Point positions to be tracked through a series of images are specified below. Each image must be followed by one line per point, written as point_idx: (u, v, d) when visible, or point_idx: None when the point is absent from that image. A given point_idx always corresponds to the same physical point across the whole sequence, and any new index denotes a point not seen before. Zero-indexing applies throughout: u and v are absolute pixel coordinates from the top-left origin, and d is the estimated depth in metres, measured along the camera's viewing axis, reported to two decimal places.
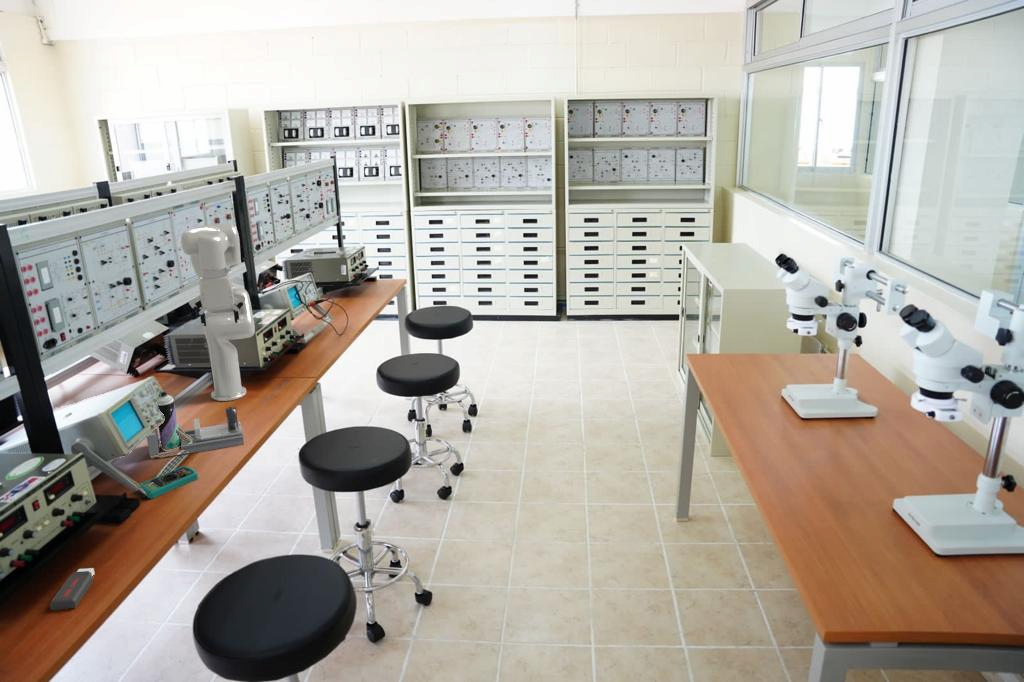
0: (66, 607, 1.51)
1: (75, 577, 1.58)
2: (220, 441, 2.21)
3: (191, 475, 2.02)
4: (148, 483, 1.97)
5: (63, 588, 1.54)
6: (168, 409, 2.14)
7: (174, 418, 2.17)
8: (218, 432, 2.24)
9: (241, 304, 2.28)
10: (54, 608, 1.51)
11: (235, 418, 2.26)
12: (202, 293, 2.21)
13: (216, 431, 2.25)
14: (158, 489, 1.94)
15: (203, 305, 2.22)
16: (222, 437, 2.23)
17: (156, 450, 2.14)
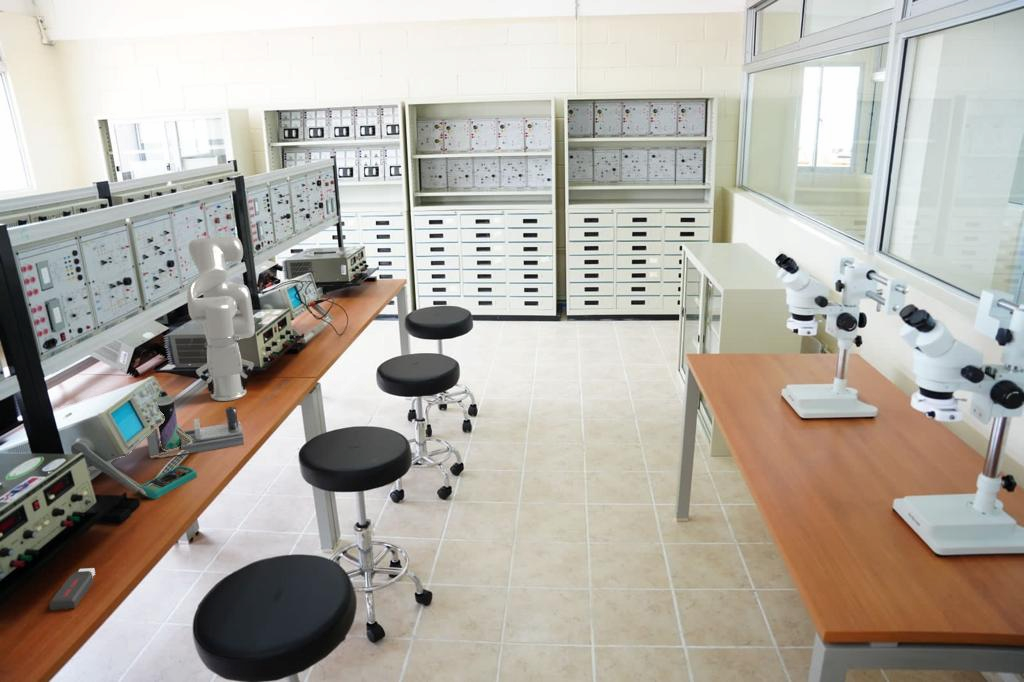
0: (65, 607, 1.51)
1: (75, 577, 1.58)
2: (220, 441, 2.21)
3: (191, 474, 2.03)
4: (148, 484, 1.97)
5: (63, 588, 1.55)
6: (168, 409, 2.14)
7: (174, 418, 2.17)
8: (218, 432, 2.24)
9: (249, 371, 2.23)
10: (54, 608, 1.51)
11: (235, 418, 2.26)
12: (210, 362, 2.15)
13: (216, 431, 2.25)
14: (161, 489, 1.94)
15: (211, 374, 2.17)
16: (222, 437, 2.23)
17: (156, 450, 2.14)
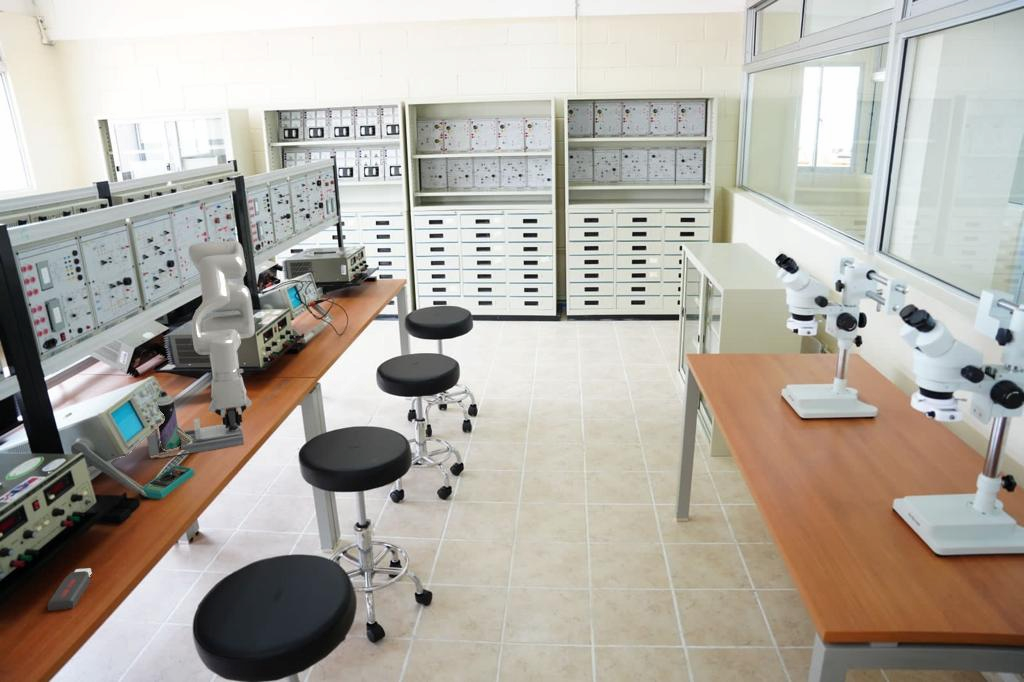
0: (64, 607, 1.51)
1: (72, 577, 1.58)
2: (220, 441, 2.21)
3: (189, 472, 2.04)
4: (148, 486, 1.96)
5: (60, 588, 1.54)
6: (168, 409, 2.14)
7: (174, 418, 2.17)
8: (218, 432, 2.24)
9: (244, 407, 2.26)
10: (52, 608, 1.51)
11: (235, 418, 2.26)
12: (214, 395, 2.19)
13: (216, 431, 2.25)
14: (165, 488, 1.95)
15: (215, 406, 2.21)
16: (222, 437, 2.23)
17: (156, 450, 2.14)
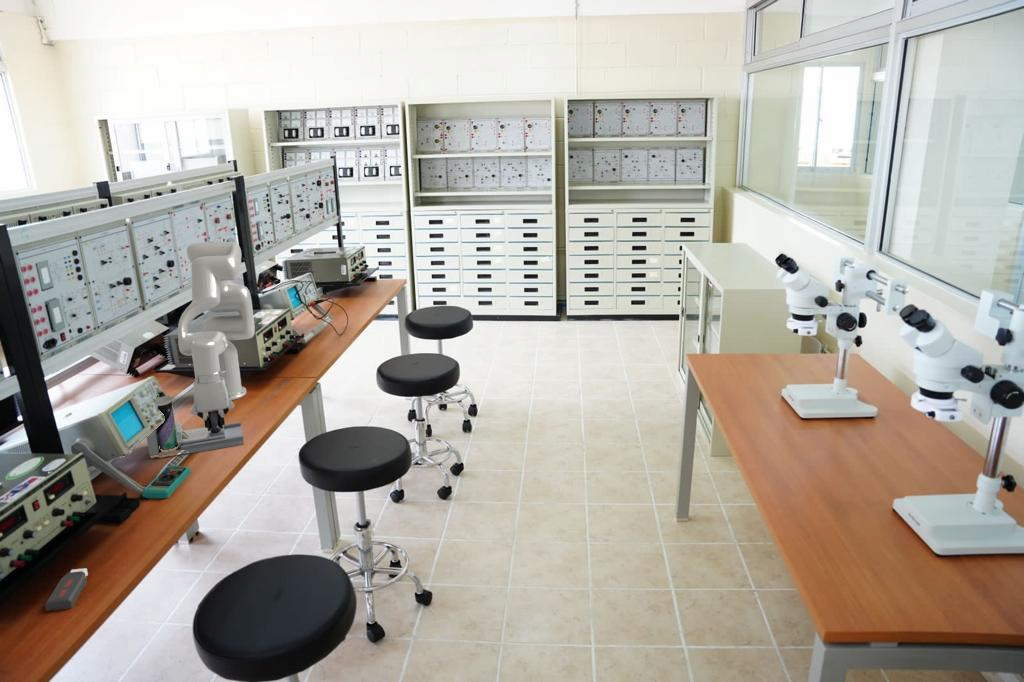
0: (62, 607, 1.51)
1: (69, 577, 1.58)
2: (220, 441, 2.21)
3: (186, 470, 2.04)
4: (150, 487, 1.95)
5: (58, 589, 1.54)
6: (166, 410, 2.14)
7: (172, 418, 2.17)
8: (200, 435, 2.22)
9: (227, 410, 2.24)
10: (50, 608, 1.51)
11: (218, 421, 2.23)
12: (196, 397, 2.17)
13: (198, 434, 2.23)
14: (170, 487, 1.95)
15: (197, 409, 2.19)
16: (204, 440, 2.20)
17: (156, 450, 2.14)
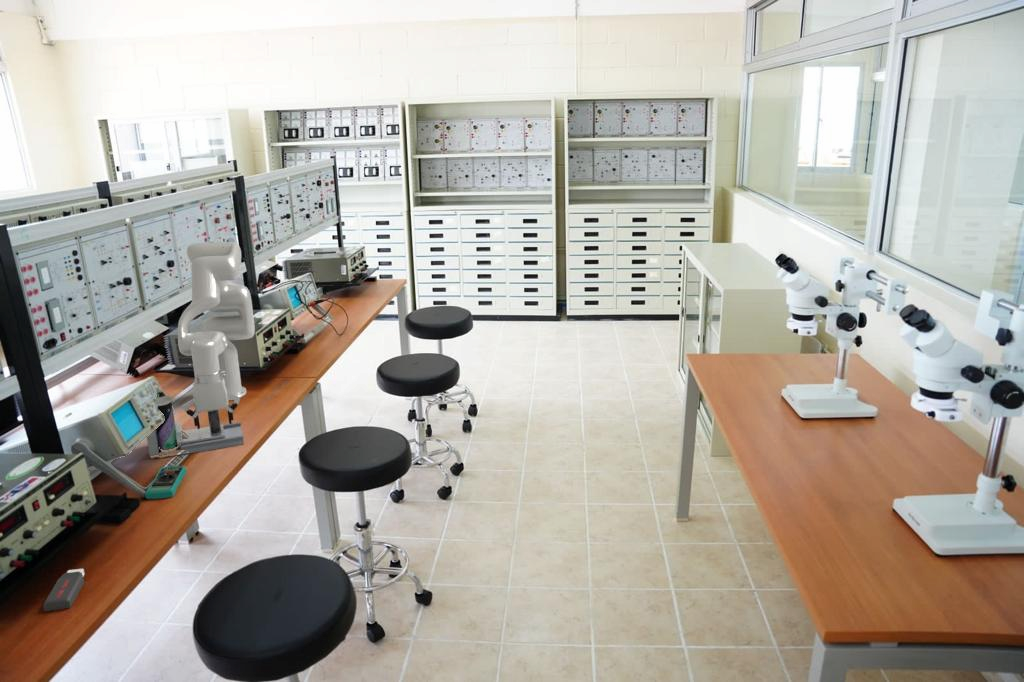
0: (60, 607, 1.51)
1: (66, 578, 1.58)
2: (220, 441, 2.21)
3: (183, 469, 2.05)
4: (152, 488, 1.95)
5: (55, 589, 1.54)
6: (166, 410, 2.14)
7: (172, 418, 2.17)
8: (200, 435, 2.22)
9: (235, 405, 2.25)
10: (48, 608, 1.51)
11: (218, 421, 2.23)
12: (195, 397, 2.17)
13: (198, 434, 2.23)
14: (173, 486, 1.96)
15: (196, 409, 2.19)
16: (204, 440, 2.20)
17: (156, 450, 2.14)
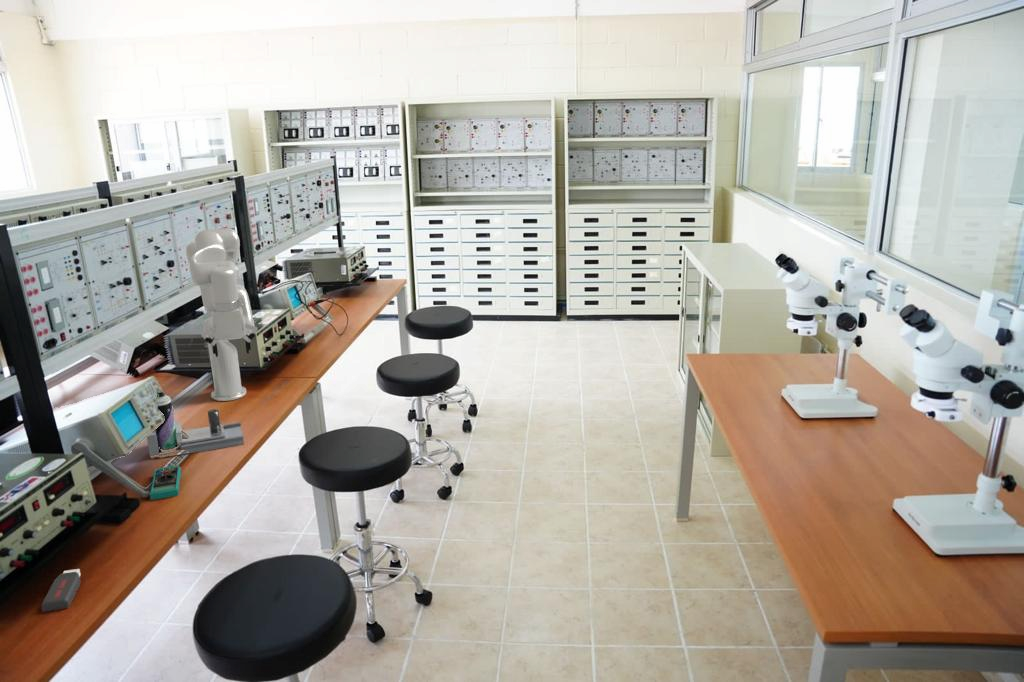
0: (59, 607, 1.51)
1: (62, 578, 1.58)
2: (220, 441, 2.21)
3: (179, 469, 2.05)
4: (155, 489, 1.95)
5: (52, 590, 1.54)
6: (166, 410, 2.14)
7: (172, 418, 2.17)
8: (200, 435, 2.22)
9: (253, 335, 2.28)
10: (46, 609, 1.50)
11: (218, 421, 2.23)
12: (214, 325, 2.21)
13: (198, 434, 2.23)
14: (177, 485, 1.96)
15: (215, 337, 2.23)
16: (204, 440, 2.20)
17: (156, 450, 2.14)
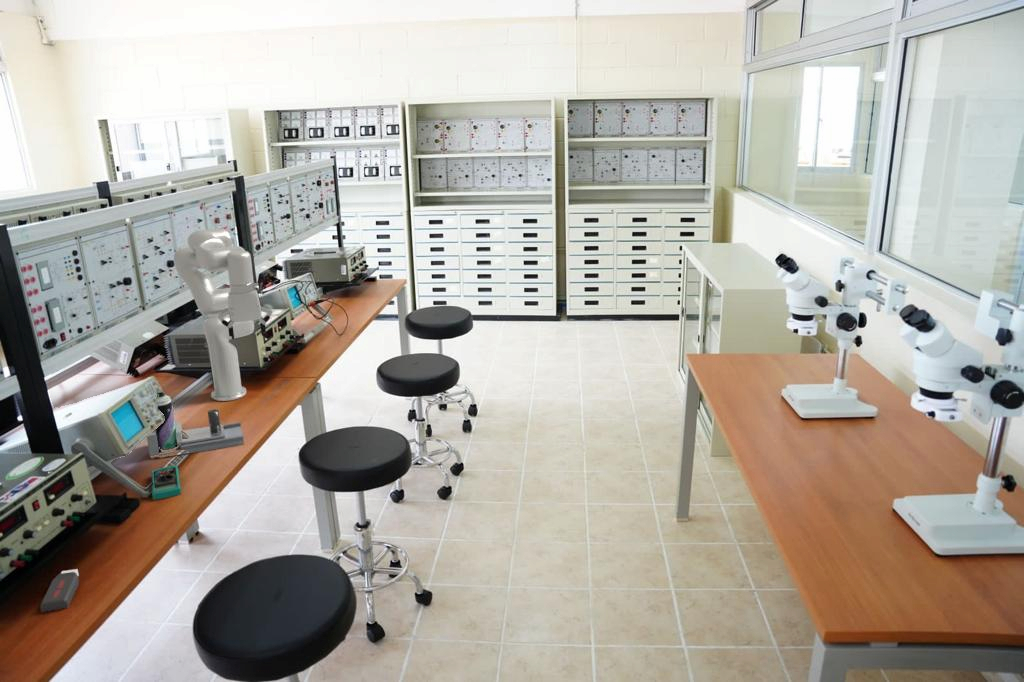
0: (58, 607, 1.51)
1: (61, 579, 1.57)
2: (220, 441, 2.21)
3: (177, 468, 2.05)
4: (157, 489, 1.95)
5: (51, 590, 1.54)
6: (166, 410, 2.14)
7: (172, 418, 2.17)
8: (200, 435, 2.22)
9: (268, 318, 2.34)
10: (45, 609, 1.50)
11: (218, 421, 2.23)
12: (231, 307, 2.27)
13: (198, 434, 2.23)
14: (179, 484, 1.97)
15: (231, 319, 2.28)
16: (204, 440, 2.20)
17: (156, 450, 2.14)
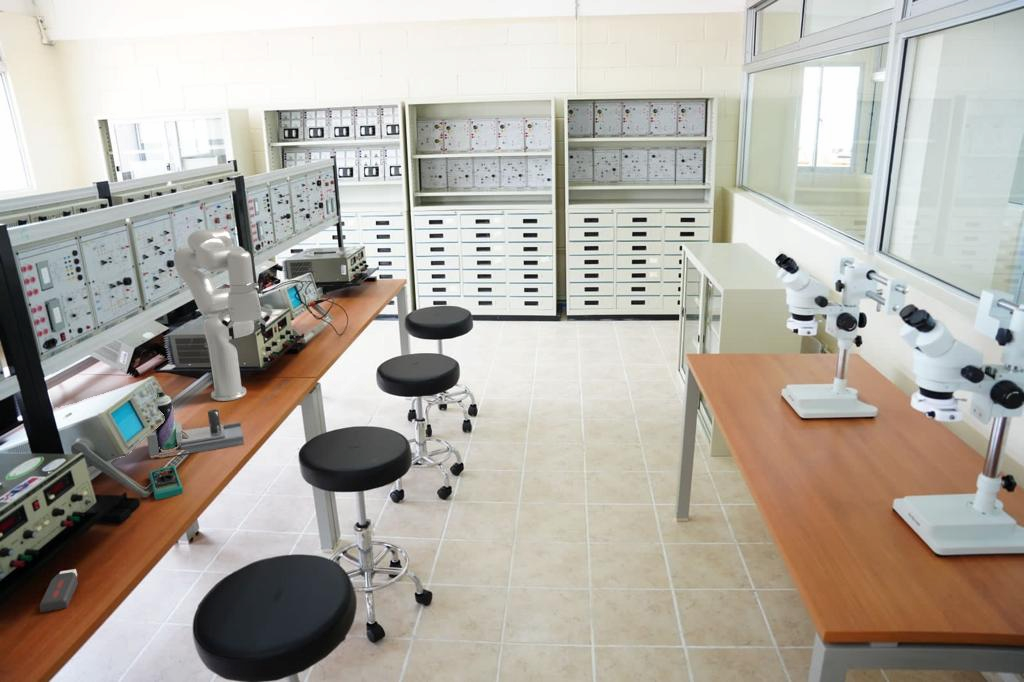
0: (57, 607, 1.51)
1: (59, 579, 1.57)
2: (220, 441, 2.21)
3: (175, 468, 2.05)
4: (158, 489, 1.94)
5: (50, 590, 1.54)
6: (166, 410, 2.14)
7: (172, 418, 2.17)
8: (200, 435, 2.22)
9: (268, 318, 2.34)
10: (44, 609, 1.50)
11: (218, 421, 2.23)
12: (231, 307, 2.27)
13: (198, 434, 2.23)
14: (180, 483, 1.97)
15: (231, 319, 2.28)
16: (204, 440, 2.20)
17: (156, 450, 2.14)
